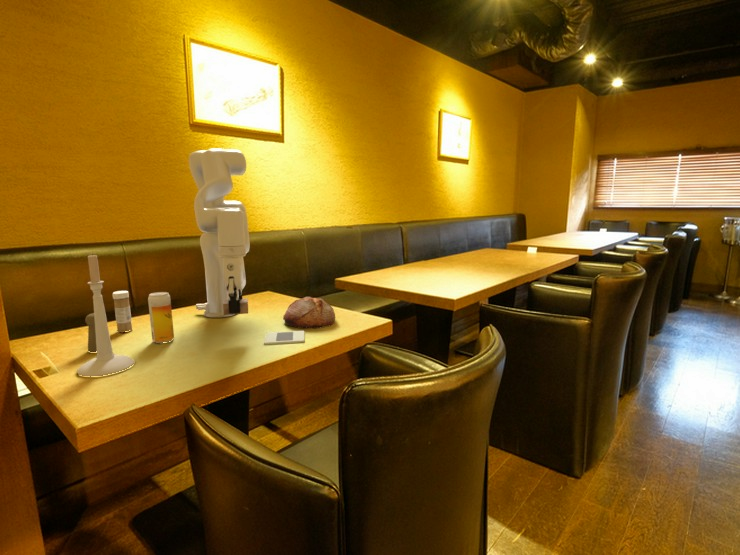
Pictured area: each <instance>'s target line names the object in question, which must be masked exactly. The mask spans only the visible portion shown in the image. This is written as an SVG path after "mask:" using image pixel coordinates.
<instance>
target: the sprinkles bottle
mask: <svg viewBox="0 0 740 555" xmlns="http://www.w3.org/2000/svg"><path fill="white" fill-rule="evenodd" d="M129 295H130V294H129V291H128V290H117V291H113V292H112V300H113V305H114V313H115V314H114V315H115V322H116V328H117V330H116V331H118V332H117V333H119V332H125V331H129V330H132V328H133V324H132V314H131V306H130V300H129V299H130V298H129V297H130V296H129ZM132 331H133V330H132ZM125 333H126V332H125Z"/></svg>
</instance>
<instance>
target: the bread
mask: <svg viewBox="0 0 740 555" xmlns="http://www.w3.org/2000/svg"><path fill="white" fill-rule="evenodd" d="M283 320H284V323H285V324H286V325H288V326H289V325H290V327H294V328H298V327H299V329H320V327H321V328H325V327H329V325H330V326H332V325H333V324H335V322H336V313H335V310H334V308H333V306H331V304H330V303H328V302H327V301H324V299H323V298H318V297H311V296H305V297H303V298H300V299H296V300H294V301H293V302H292V303H291V304H289V306H288V307H287V309H286V311H285V313H284V315H283Z"/></svg>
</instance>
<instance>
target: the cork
mask: <svg viewBox="0 0 740 555" xmlns="http://www.w3.org/2000/svg"><path fill="white" fill-rule="evenodd" d="M106 319H107V320H108V318H107V316H106ZM85 324H86V325H87V327H88V328H87V329H88V331H87V333H88V336H87V338H88V340H87V352H88V351H90V352H96V351H97V347H96V332H95V318H94V312H92V313H89V314H87V315H86V316H85Z"/></svg>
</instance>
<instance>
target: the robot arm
mask: <svg viewBox="0 0 740 555" xmlns="http://www.w3.org/2000/svg"><path fill="white" fill-rule="evenodd" d="M188 156H189V157H188V164H189V170H190V174H191V176H192V178H193V180H194V182H195V184H196V187H197V190H198V192H197V193H196V195H195V198H194V202H193V204H194V205H193V207H194V213H195V214H194V215H195V221H196V224H197V228H198V230H200V232H203V233H202V234H201V235H200V236H199V245H200V249H201V253H202V258H203V264H204V265H203V266H204V273H205V274H204V276H205V289H206V300H207V302H205V303H196V304H195V309H196V310H198V311H200V310H201V311H202V310H204V311H203V315H204V317H206V318H207V317H208V318H212V319H213V318H215V319H217V318H228V317H232V316H235V315H236V314H233V315H224V311H223V302H224V300H228V304H229V313H240V300H239V299H243V295H242V294H243V292H242V291H243V289H244V288H245V286H246V284H247V280H246V279H247V278H246V271H245V270H246V269H245V268H246V267H245V260H244V257H246V255H247V253H249V252H250V247H251V244H250V241H251V240H250V233H249V222H248V216H247V210H246V207H245V205H244V203H242V202H241V201H238V200H225V196H228V194H230V193H231V192H232V191H233V189H234V183H233V180H232V176H243V175H245V173H246V171H247V159H246V157H245V155H244V153H243V152H242V151H241V150H238V149H229V148H228V149H224V148H223V149H222V148H209V149H207V150H196V151H193V152H191V153H190V154H189V155H188Z"/></svg>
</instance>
